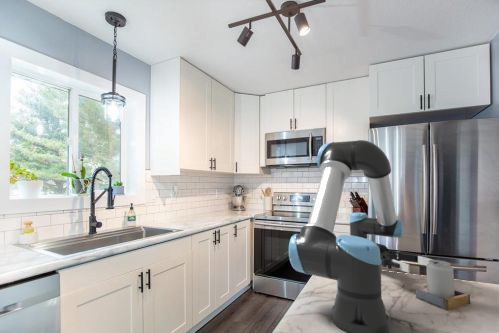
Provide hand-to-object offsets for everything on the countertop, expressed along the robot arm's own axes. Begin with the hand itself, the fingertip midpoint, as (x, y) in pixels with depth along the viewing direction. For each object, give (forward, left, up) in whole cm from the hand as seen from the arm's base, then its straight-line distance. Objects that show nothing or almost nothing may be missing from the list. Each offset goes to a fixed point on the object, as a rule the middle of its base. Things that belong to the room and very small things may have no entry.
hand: (422, 266), depth 97 cm
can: (0, -6, -9) cm, 11 cm away
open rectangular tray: (0, -7, -9) cm, 11 cm away
